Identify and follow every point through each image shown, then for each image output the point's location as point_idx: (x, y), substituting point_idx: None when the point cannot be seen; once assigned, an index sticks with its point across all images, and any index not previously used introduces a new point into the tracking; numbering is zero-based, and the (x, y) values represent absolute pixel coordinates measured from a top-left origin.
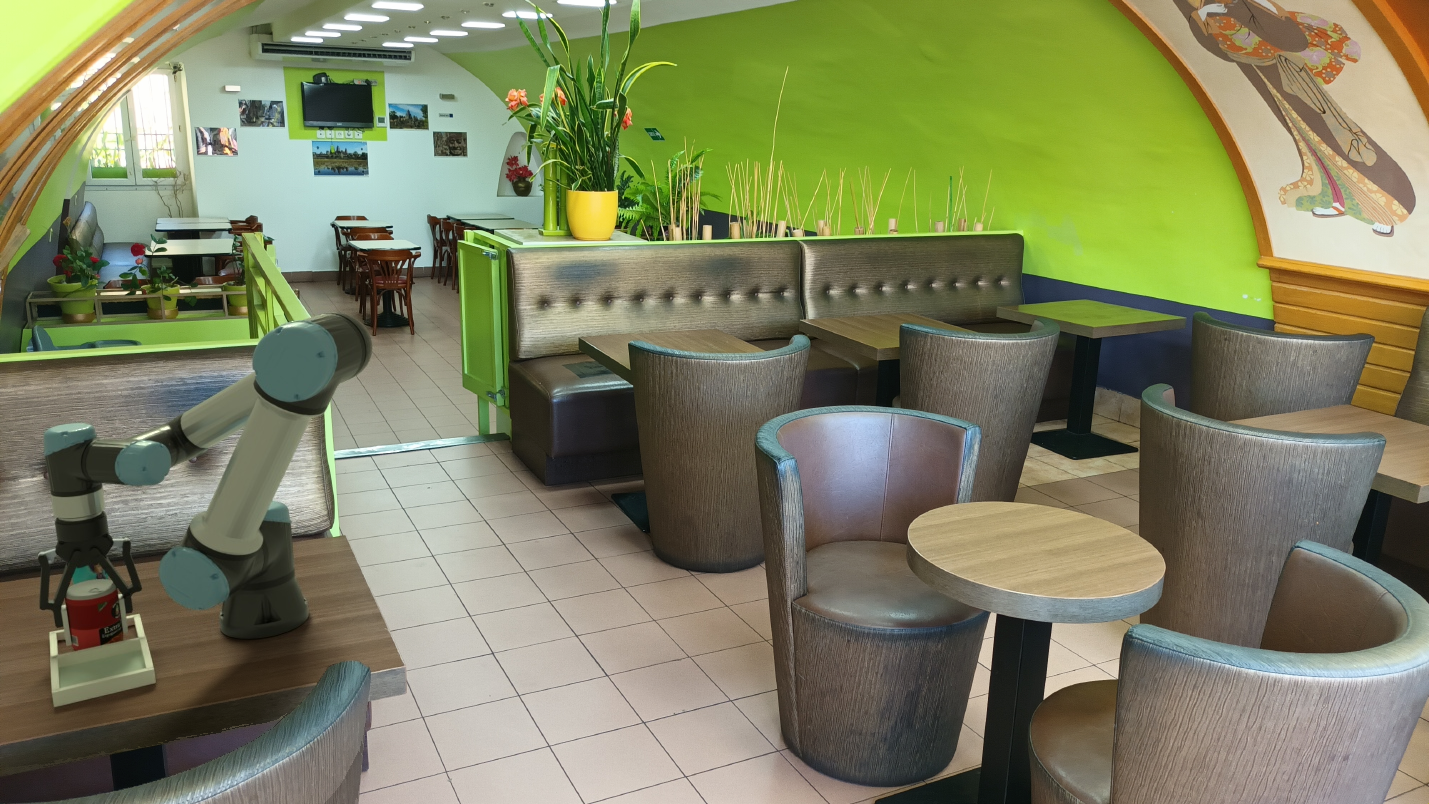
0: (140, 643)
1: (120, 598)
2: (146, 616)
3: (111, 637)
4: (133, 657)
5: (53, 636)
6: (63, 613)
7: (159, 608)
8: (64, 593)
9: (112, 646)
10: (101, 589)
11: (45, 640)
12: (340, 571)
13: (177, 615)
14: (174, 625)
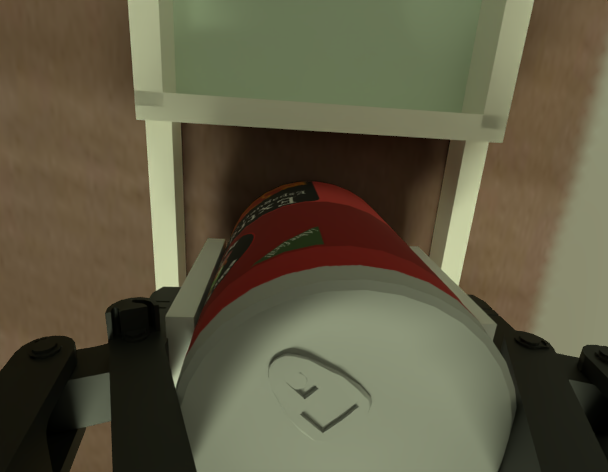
0: (162, 51)
1: (184, 334)
2: None
3: (270, 198)
4: (208, 25)
5: None
6: (479, 315)
7: (110, 435)
8: (536, 405)
9: (276, 101)
10: (281, 387)
11: None
12: None
13: None
14: (58, 280)
